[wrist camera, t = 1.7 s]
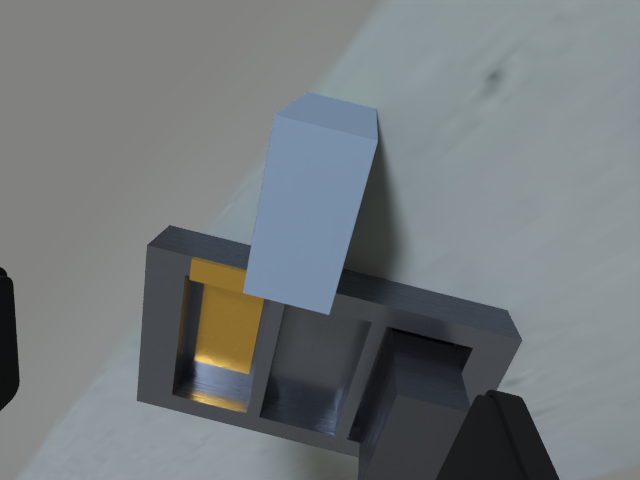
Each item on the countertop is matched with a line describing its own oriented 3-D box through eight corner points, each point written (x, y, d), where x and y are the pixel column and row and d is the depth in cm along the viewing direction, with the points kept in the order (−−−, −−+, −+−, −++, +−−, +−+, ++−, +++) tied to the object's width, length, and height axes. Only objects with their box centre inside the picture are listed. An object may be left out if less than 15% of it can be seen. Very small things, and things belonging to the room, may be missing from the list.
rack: (169, 225, 25) (104, 282, 19) (507, 310, 25) (551, 395, 19) (156, 370, 30) (100, 454, 24) (443, 443, 30) (461, 547, 24)
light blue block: (306, 91, 22) (273, 114, 14) (376, 109, 22) (379, 141, 14) (280, 219, 25) (242, 292, 17) (342, 235, 25) (329, 315, 17)
